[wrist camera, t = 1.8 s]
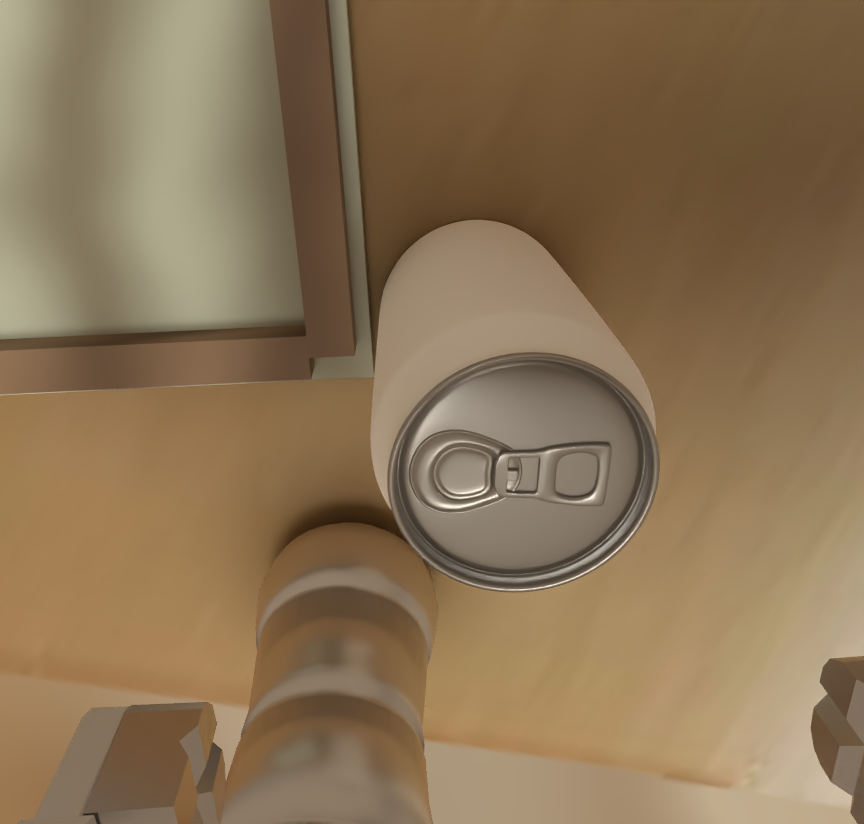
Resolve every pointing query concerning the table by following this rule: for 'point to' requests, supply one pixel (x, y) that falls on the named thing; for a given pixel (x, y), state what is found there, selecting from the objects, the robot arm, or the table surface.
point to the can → (506, 414)
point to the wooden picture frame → (179, 195)
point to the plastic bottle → (338, 685)
